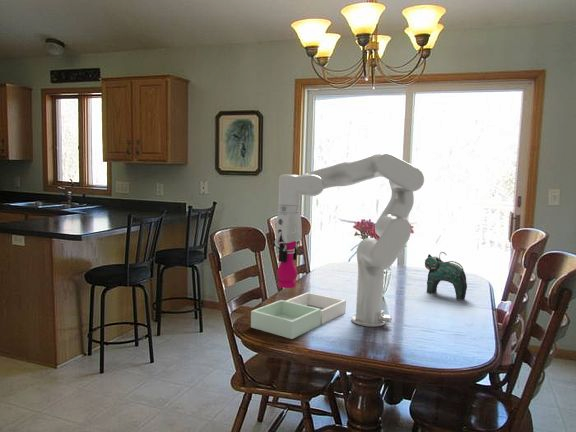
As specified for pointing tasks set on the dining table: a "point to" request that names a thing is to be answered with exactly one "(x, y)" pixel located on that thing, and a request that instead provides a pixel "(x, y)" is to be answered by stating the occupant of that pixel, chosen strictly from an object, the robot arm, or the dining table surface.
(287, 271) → the pepper mill
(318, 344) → the dining table surface
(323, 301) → the crate
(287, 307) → the bin
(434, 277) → the ceramic cat
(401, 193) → the robot arm
